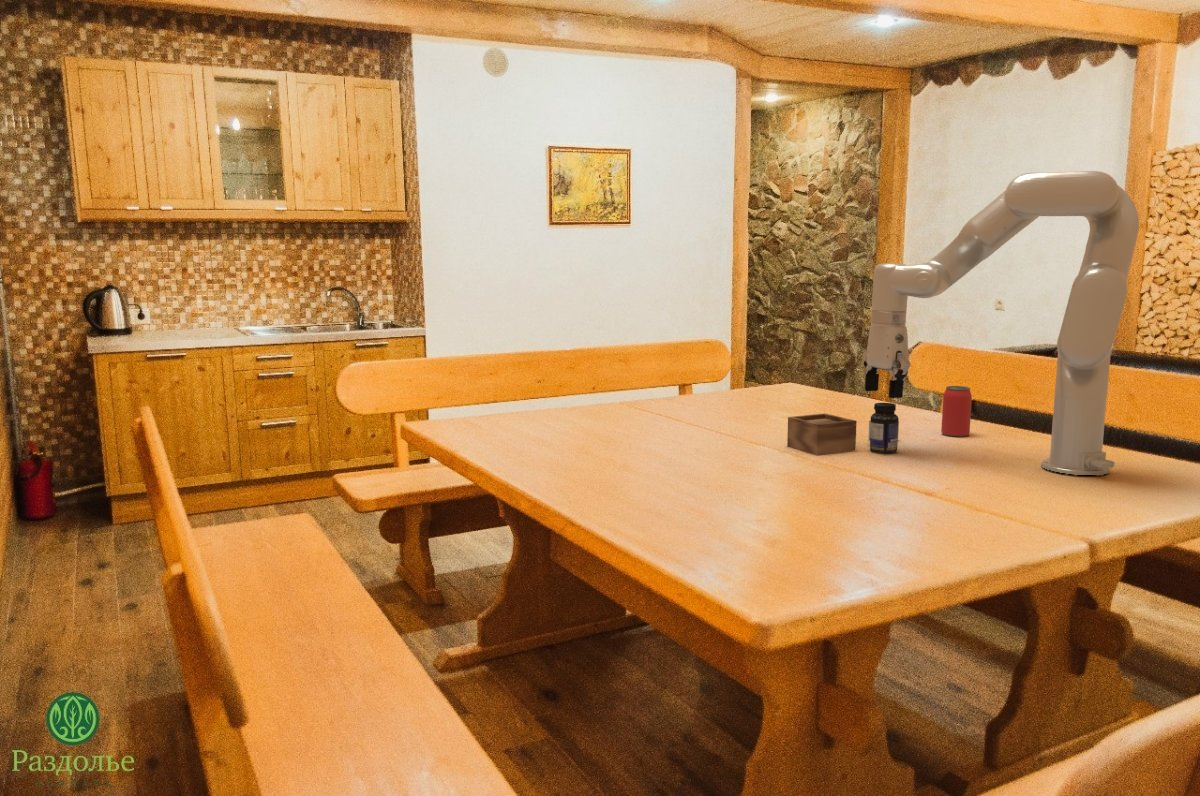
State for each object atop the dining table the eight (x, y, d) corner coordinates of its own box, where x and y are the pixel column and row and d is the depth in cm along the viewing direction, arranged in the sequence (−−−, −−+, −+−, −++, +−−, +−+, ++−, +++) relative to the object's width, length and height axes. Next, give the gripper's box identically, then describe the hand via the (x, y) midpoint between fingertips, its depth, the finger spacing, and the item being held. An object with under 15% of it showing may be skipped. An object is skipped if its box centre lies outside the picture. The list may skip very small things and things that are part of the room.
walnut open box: (855, 450, 206) (856, 420, 205) (817, 455, 201) (818, 424, 200) (824, 441, 216) (825, 413, 215) (787, 446, 211) (788, 417, 210)
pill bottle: (893, 448, 208) (896, 402, 206) (900, 454, 202) (902, 406, 200) (866, 448, 208) (868, 401, 207) (872, 454, 202) (874, 406, 201)
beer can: (973, 437, 220) (976, 389, 219) (946, 437, 221) (949, 389, 219) (963, 432, 227) (966, 385, 225) (937, 432, 227) (939, 385, 225)
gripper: (926, 322, 193) (920, 400, 196) (881, 315, 210) (876, 388, 213) (895, 322, 191) (890, 401, 194) (853, 316, 208) (848, 388, 211)
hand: (883, 394), depth 203 cm, fingers open, 9 cm apart
